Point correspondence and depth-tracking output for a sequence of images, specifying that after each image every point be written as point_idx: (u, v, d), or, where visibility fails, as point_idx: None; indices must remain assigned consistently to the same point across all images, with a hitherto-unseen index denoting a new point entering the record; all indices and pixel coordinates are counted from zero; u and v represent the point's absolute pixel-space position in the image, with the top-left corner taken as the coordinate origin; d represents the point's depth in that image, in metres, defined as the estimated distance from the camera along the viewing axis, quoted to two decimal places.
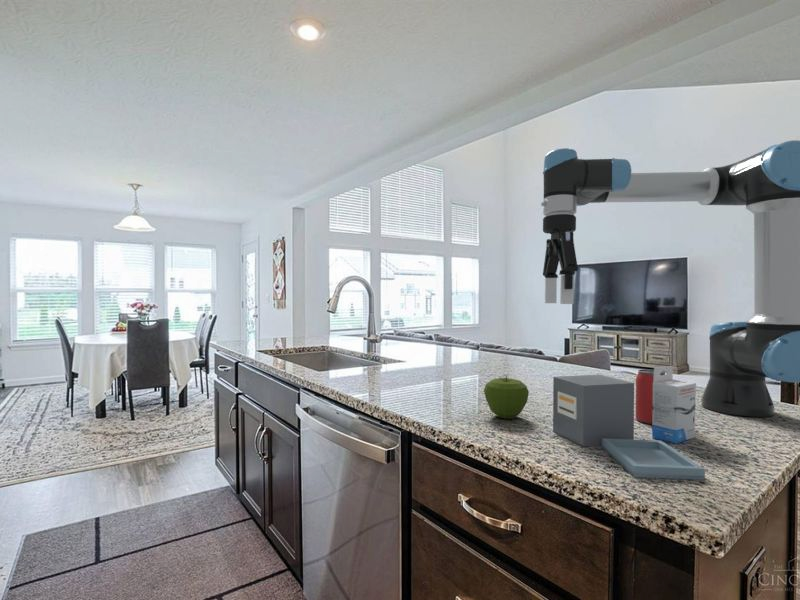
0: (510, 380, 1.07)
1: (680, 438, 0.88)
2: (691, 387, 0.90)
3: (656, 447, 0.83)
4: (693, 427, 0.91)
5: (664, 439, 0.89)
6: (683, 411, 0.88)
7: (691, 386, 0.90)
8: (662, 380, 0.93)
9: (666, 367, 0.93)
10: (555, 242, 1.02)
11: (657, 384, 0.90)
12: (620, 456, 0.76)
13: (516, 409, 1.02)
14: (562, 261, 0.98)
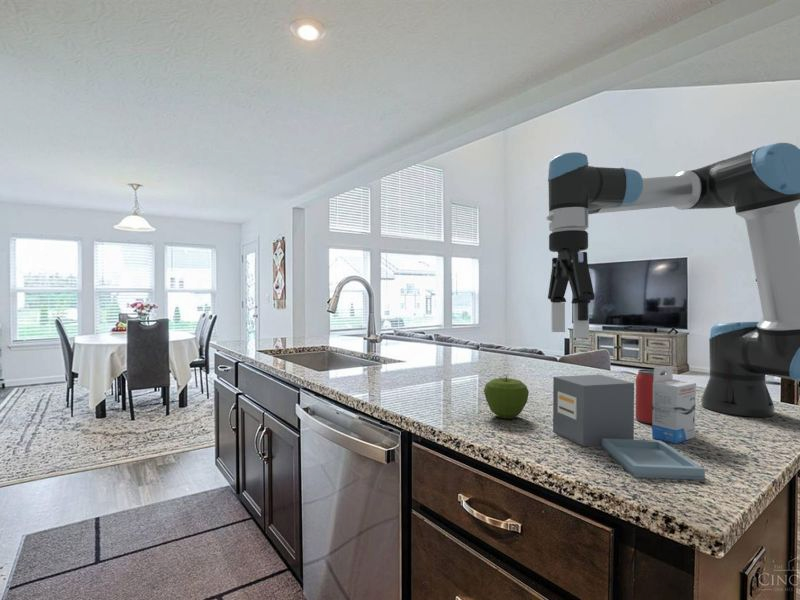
0: (510, 380, 1.07)
1: (680, 438, 0.88)
2: (691, 387, 0.90)
3: (656, 447, 0.83)
4: (693, 427, 0.91)
5: (664, 439, 0.89)
6: (683, 411, 0.88)
7: (691, 386, 0.90)
8: (662, 380, 0.93)
9: (666, 367, 0.93)
10: (564, 263, 0.87)
11: (657, 384, 0.90)
12: (620, 456, 0.76)
13: (516, 409, 1.02)
14: (574, 287, 0.83)
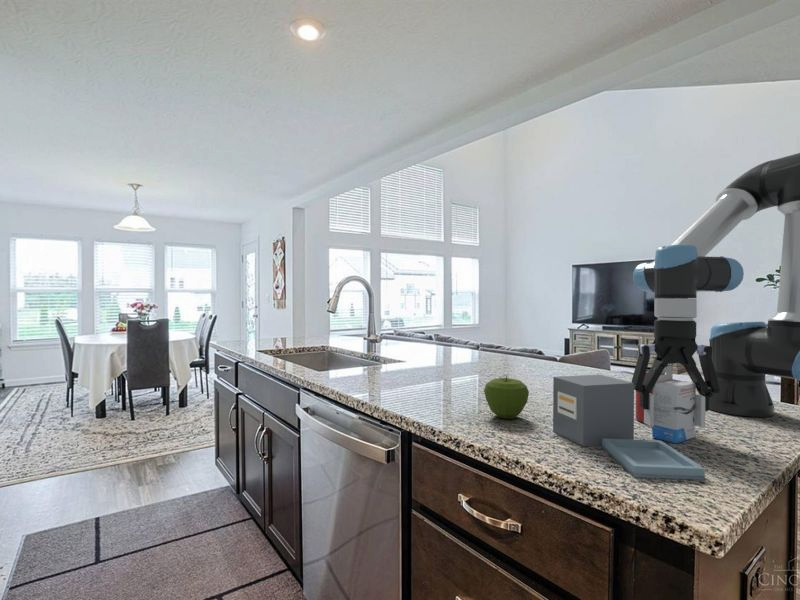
0: (510, 380, 1.07)
1: (680, 438, 0.88)
2: (691, 387, 0.90)
3: (656, 447, 0.83)
4: (693, 427, 0.91)
5: (664, 439, 0.89)
6: (683, 411, 0.88)
7: (691, 386, 0.90)
8: (662, 380, 0.93)
9: (666, 367, 0.93)
10: None
11: (657, 384, 0.90)
12: (620, 456, 0.76)
13: (516, 410, 1.02)
14: (646, 377, 0.93)
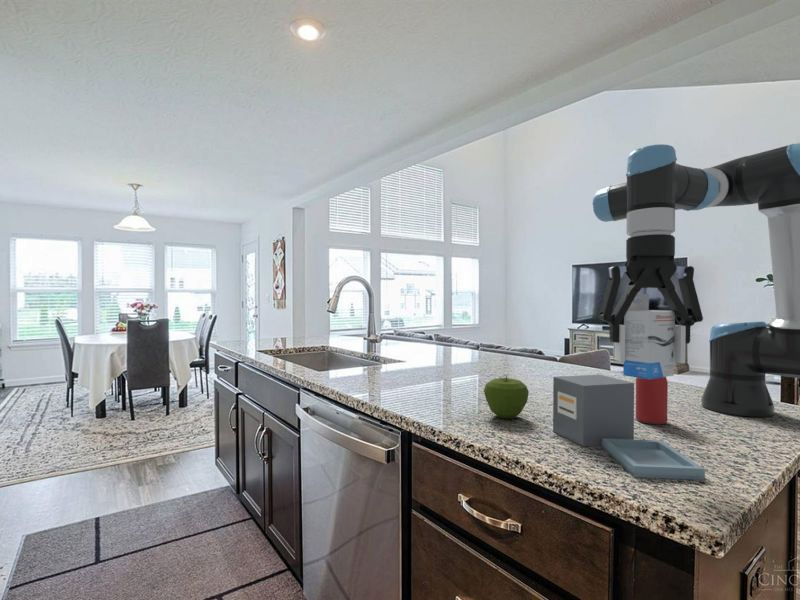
0: (510, 380, 1.07)
1: (655, 373, 0.74)
2: (669, 315, 0.76)
3: (656, 447, 0.83)
4: (672, 363, 0.77)
5: (637, 375, 0.75)
6: (659, 342, 0.74)
7: (669, 314, 0.76)
8: (636, 309, 0.79)
9: (640, 294, 0.80)
10: None
11: (629, 311, 0.76)
12: (620, 456, 0.76)
13: (516, 409, 1.02)
14: (617, 305, 0.79)
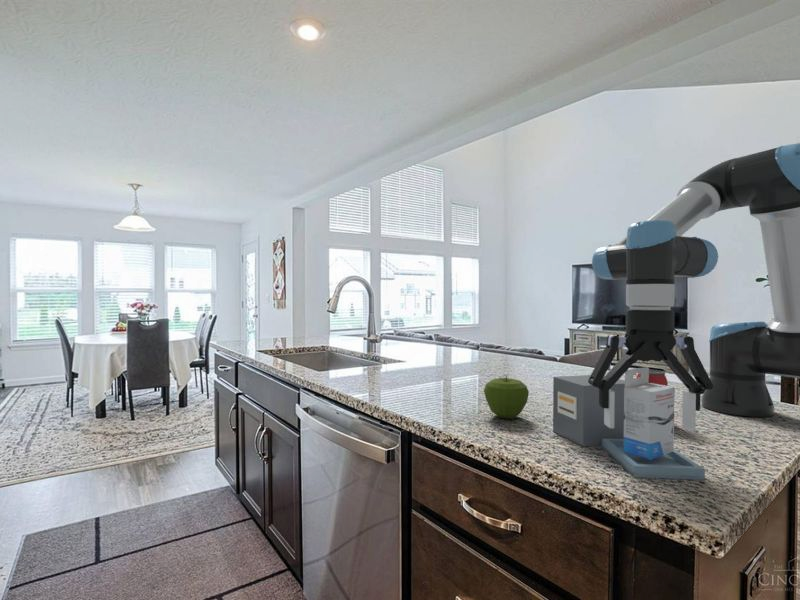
0: (510, 380, 1.07)
1: (655, 453, 0.74)
2: (669, 392, 0.76)
3: None
4: (672, 439, 0.77)
5: (637, 454, 0.75)
6: (660, 421, 0.74)
7: (669, 391, 0.76)
8: (636, 384, 0.79)
9: (640, 369, 0.80)
10: None
11: (629, 389, 0.76)
12: (620, 456, 0.76)
13: (516, 410, 1.02)
14: (609, 371, 0.79)
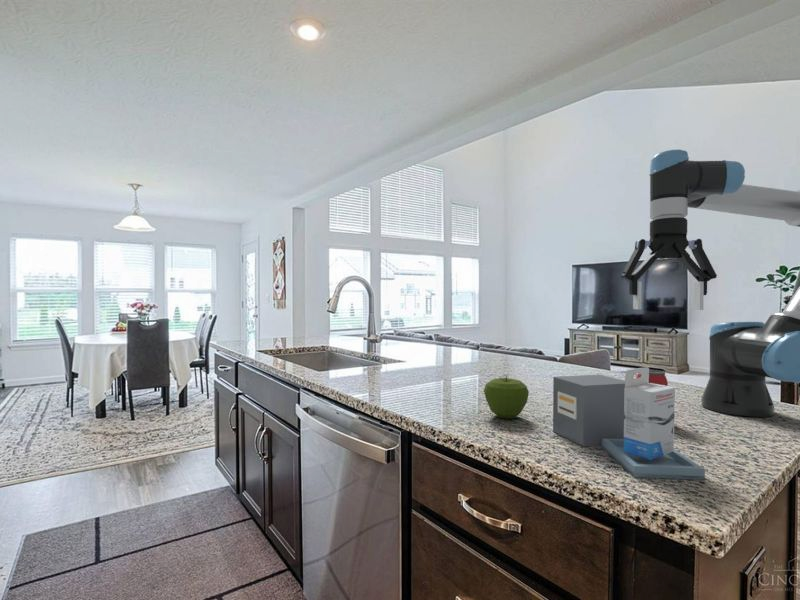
0: (510, 380, 1.07)
1: (655, 453, 0.74)
2: (669, 392, 0.76)
3: None
4: (672, 439, 0.77)
5: (637, 454, 0.75)
6: (660, 422, 0.74)
7: (669, 391, 0.76)
8: (636, 384, 0.79)
9: (641, 369, 0.80)
10: None
11: (629, 389, 0.76)
12: (620, 456, 0.76)
13: (516, 410, 1.02)
14: (637, 268, 1.03)
